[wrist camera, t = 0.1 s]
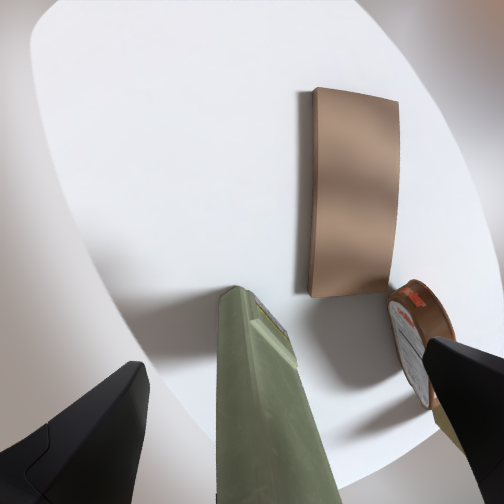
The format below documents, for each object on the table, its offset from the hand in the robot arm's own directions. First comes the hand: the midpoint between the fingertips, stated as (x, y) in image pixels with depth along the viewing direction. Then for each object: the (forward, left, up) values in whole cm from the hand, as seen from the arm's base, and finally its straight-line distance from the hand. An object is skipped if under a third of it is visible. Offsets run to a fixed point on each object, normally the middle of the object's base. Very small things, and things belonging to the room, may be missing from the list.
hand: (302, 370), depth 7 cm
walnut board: (+4, -8, -15) cm, 17 cm away
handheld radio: (-7, 0, -15) cm, 16 cm away
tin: (-9, -15, -14) cm, 23 cm away
